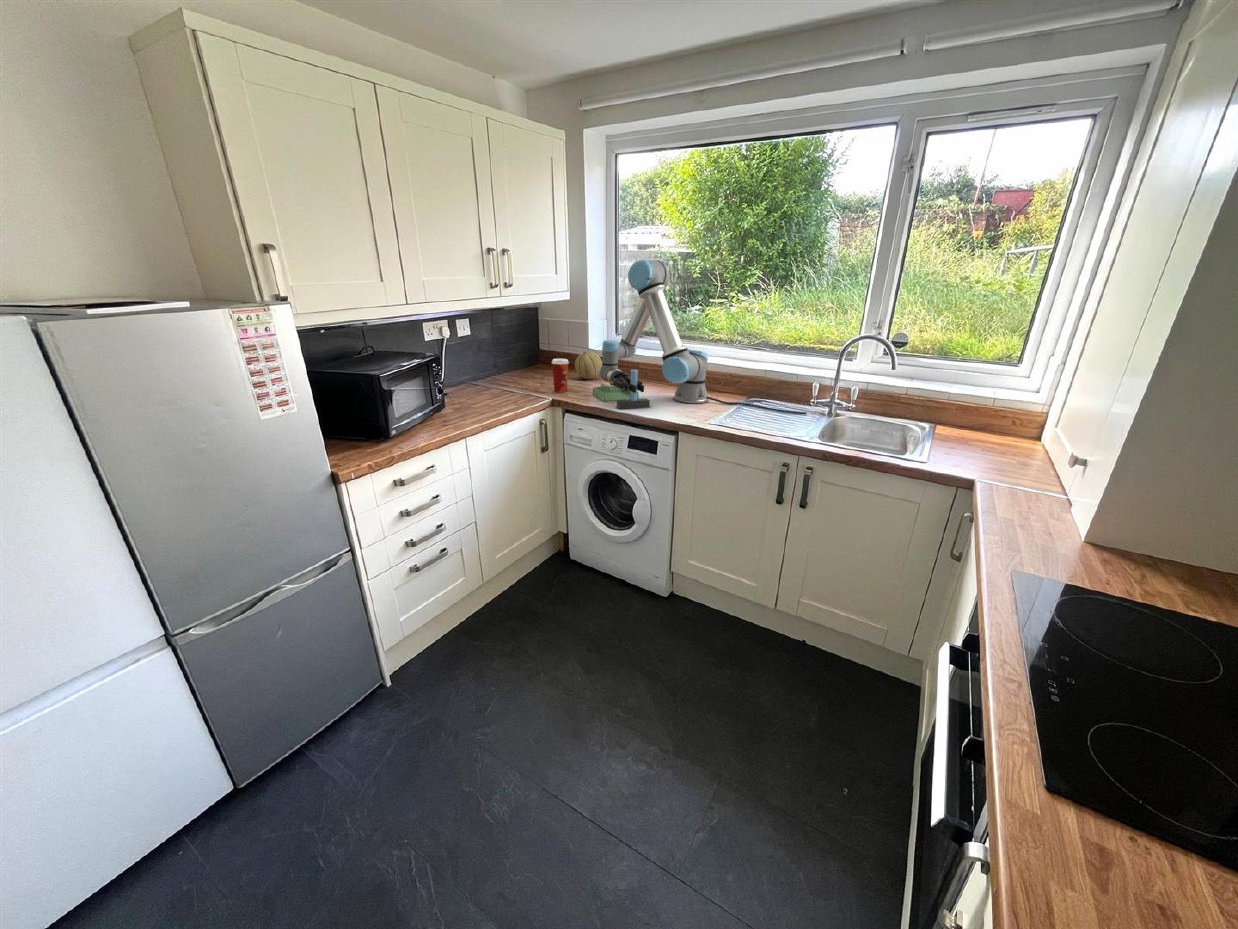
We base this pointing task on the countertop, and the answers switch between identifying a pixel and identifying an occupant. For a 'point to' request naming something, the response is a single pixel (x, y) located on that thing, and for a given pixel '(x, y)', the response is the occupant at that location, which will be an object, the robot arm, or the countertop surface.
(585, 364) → the cantaloupe
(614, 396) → the green tray
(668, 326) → the robot arm
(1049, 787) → the countertop surface
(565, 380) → the coffee cup
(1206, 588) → the countertop surface
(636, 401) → the wiper
